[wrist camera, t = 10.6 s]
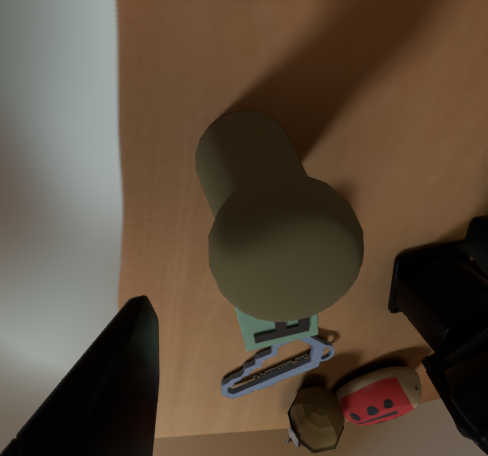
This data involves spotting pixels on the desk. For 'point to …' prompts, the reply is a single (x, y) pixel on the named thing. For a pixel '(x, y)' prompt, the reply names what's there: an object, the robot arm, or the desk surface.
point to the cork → (274, 222)
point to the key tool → (279, 374)
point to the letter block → (274, 330)
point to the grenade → (315, 420)
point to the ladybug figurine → (380, 395)
